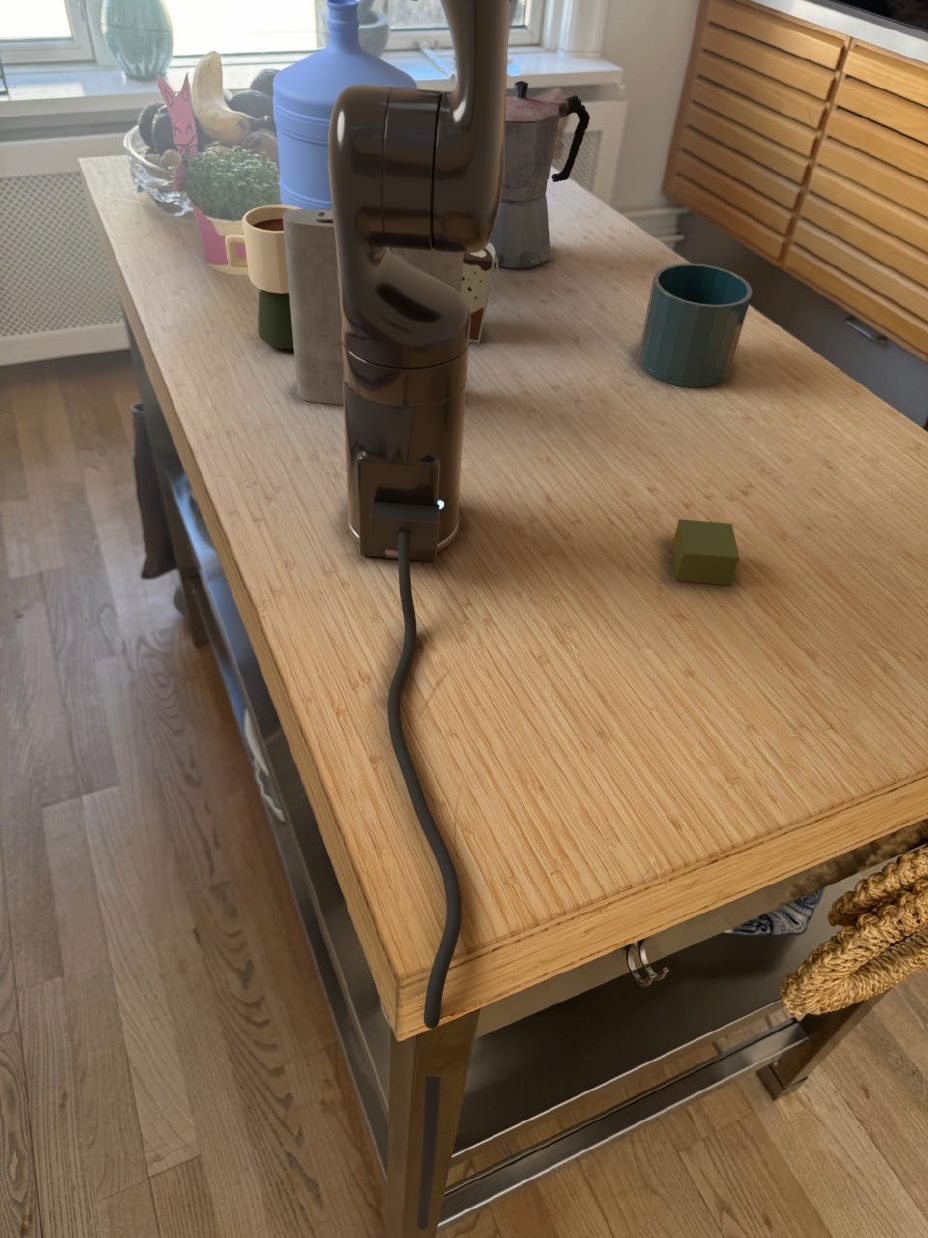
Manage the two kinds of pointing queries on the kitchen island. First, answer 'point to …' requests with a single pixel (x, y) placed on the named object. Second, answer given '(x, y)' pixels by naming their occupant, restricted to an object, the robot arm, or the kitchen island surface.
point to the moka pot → (531, 175)
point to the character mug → (266, 270)
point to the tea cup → (693, 324)
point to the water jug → (321, 105)
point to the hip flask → (331, 299)
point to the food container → (478, 286)
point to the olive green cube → (704, 552)
